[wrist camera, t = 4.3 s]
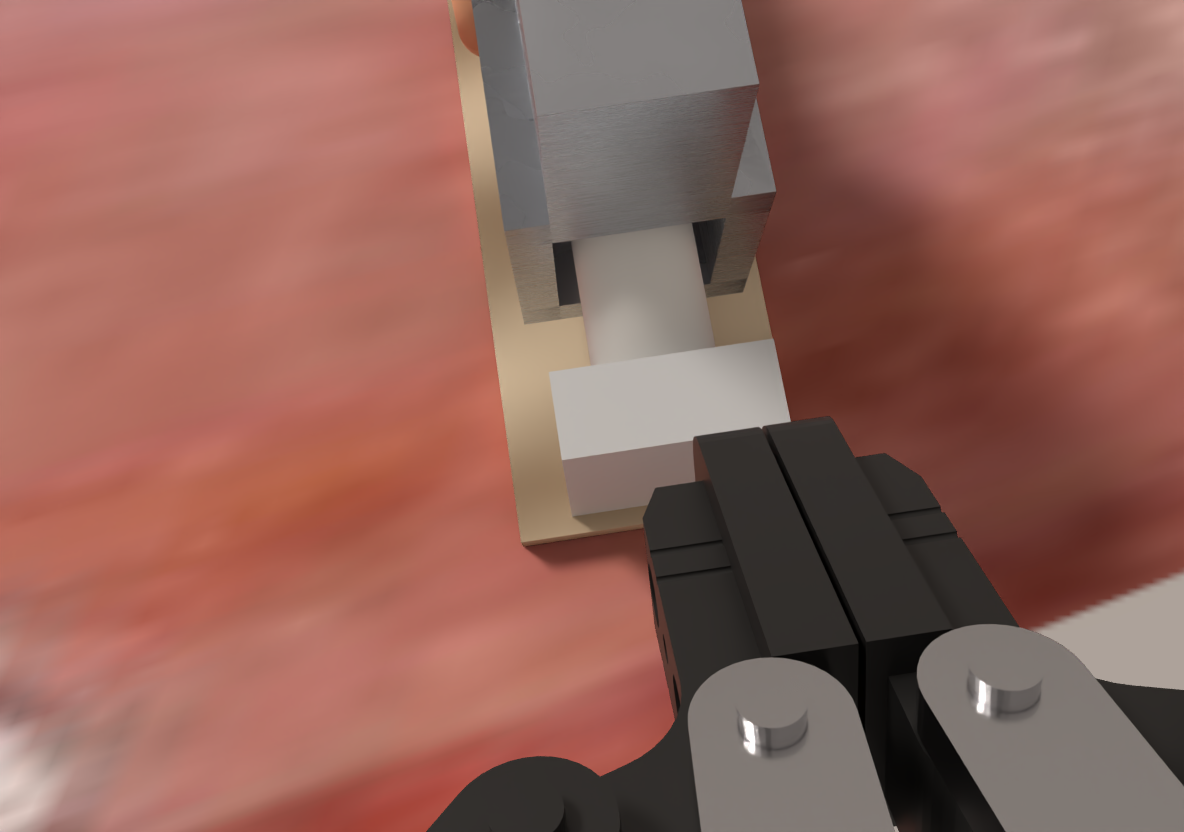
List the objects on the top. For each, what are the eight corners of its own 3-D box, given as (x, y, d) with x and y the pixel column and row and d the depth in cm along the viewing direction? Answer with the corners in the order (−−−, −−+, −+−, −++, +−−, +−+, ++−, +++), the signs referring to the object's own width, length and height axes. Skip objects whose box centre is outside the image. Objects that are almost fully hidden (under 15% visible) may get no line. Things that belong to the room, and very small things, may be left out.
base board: (800, 503, 31) (805, 498, 30) (523, 546, 31) (521, 542, 30) (628, -339, 39) (628, -360, 38) (406, -310, 39) (402, -330, 38)
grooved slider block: (742, 292, 29) (814, 75, 19) (524, 324, 29) (481, 123, 19) (703, 98, 31) (751, -197, 21) (496, 128, 31) (442, -155, 21)
